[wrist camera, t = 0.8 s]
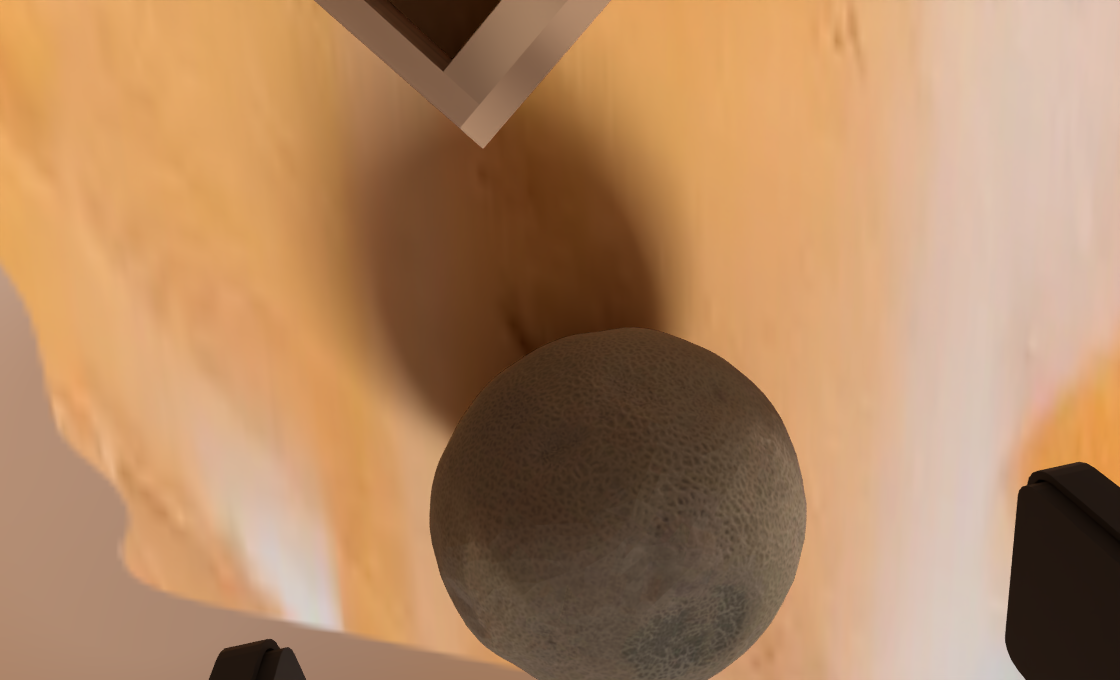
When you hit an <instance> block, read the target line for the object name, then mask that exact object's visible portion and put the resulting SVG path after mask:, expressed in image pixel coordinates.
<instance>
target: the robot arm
mask: <svg viewBox="0 0 1120 680" xmlns="http://www.w3.org/2000/svg"><path fill="white" fill-rule="evenodd" d="M1005 643H1006V647H1007V650H1008V653H1009V656H1010V658H1011V660H1012V662H1013V664H1014V665H1015V666H1016V668H1017V669H1018V671H1019V672H1020V673H1021V674H1022V676H1023V677H1024V678H1025V679H1026V680H1120V487H1119V486H1117V485H1116V484H1115V483H1113V482H1112V481H1111V480H1110V479H1108V478H1107V477H1106V476H1104V475H1103V474H1102V473H1100V472H1099V471H1098V470H1097V469H1095V468H1094V467H1092V466H1090V465H1089V464H1087V463H1082V462H1076V463H1072V464H1067V465H1063V466H1058V467H1054V468H1049V469H1044V470H1040V471H1036V472H1033V473H1032V474H1031V476H1030V477H1029V480H1028V484H1027V486H1023V487H1022V488H1021V489H1020V490H1019V493H1018V500H1017V511H1016V522H1015V533H1014V544H1013V555H1012V566H1011V577H1010V588H1009V599H1008V610H1007V621H1006V632H1005ZM209 680H306V678H305V676H304V674H303V672H302V669H301V667H300V665H299V663H298V661H297V659H296V656H295V654H294V653H293V651H292V649H290V648H289V647H287V648H282V649H280V648H279V647H278V645H277V643H276V642H275V641H274V640H272V639H266V640H261V641H257V642H252V643H248V644H243V645H239V646H235V647H229V648H225V649H224V650H222V651H221V652H220V654H219V656H218V658H217V660H216V662H215V665H214V667H213V670H212V673H211V675H210V678H209Z"/></svg>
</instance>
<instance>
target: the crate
mask: <svg viewBox="0 0 1120 680" xmlns="http://www.w3.org/2000/svg"><path fill="white" fill-rule="evenodd" d="M314 1H315V2H317V3H318V4H319V5H320V6H321V7H322V8H323V9H325V10H326V11H327V12H328V13H329V14H330V15H331V16H332V17H334V18H335V19H336V20H337V21H338V22H339V23H340V24H342V25H343V26H344V27H345V28H346V29H347V30H348V31H350V32H351V33H352V34H353V35H354V36H355V37H356V38H357V39H359V40H360V41H361V42H362V43H363V44H364V45H365V46H367V47H368V48H369V49H370V50H371V51H372V52H373V53H375V54H376V55H377V56H378V57H379V58H380V59H381V60H382V61H384V62H385V63H386V64H387V65H388V66H389V67H390V68H392V69H393V70H394V71H395V72H396V73H397V74H398V75H400V76H401V77H402V78H403V79H404V80H405V81H406V82H407V83H409V84H410V85H411V86H412V87H413V88H414V89H415V90H417V91H418V92H419V93H420V94H421V95H422V96H423V97H425V98H426V99H427V100H428V101H429V102H430V103H431V104H432V105H434V106H435V107H436V108H437V109H438V110H439V111H440V112H442V113H443V114H444V115H445V116H446V117H447V118H448V119H450V120H451V121H452V122H453V123H454V124H455V125H456V126H457V127H459V128H460V129H461V130H462V131H463V132H464V133H465V134H467V135H468V136H469V137H470V138H471V139H472V140H473V141H475V142H476V143H477V144H478V145H479V146H480V147H481V148H482V149H483V148H484V147H485V146H486V145H487V144H488V143H489V141H490V140H491V139H492V138H493V137H494V136H495V134H496V133H497V132H498V131H499V130H500V129H501V128H502V126H503V125H504V124H505V123H506V122H507V121H508V119H509V118H510V117H511V116H512V115H513V114H514V112H515V111H516V110H517V109H518V108H519V107H520V105H521V104H522V103H523V102H524V101H525V100H526V98H527V97H528V96H529V95H530V94H531V93H532V92H533V90H534V89H535V88H536V87H537V86H538V85H539V83H540V82H541V81H542V80H543V79H544V78H545V76H546V75H547V74H548V73H549V72H550V71H551V69H552V68H553V67H554V66H555V65H556V64H557V62H558V61H559V60H560V59H561V58H562V57H563V55H564V54H565V53H566V52H567V51H568V50H569V49H570V47H571V46H572V45H573V44H574V43H575V42H576V40H577V39H578V38H579V37H580V36H581V35H582V33H583V32H584V31H585V30H586V29H587V28H588V26H589V25H590V24H591V23H592V22H593V21H594V19H595V18H596V17H597V16H598V15H599V14H600V13H601V11H602V10H603V9H604V8H605V7H606V6H607V4H608V3H609V2H610V1H611V0H500V2H499V3H498V4H497V5H496V6H495V8H494V9H493V10H492V11H491V13H490V14H489V15H488V16H487V17H486V19H485V20H484V21H483V22H482V24H481V25H480V26H479V27H478V28H477V30H476V31H475V32H474V33H473V35H472V36H471V37H470V38H469V39H468V41H467V42H466V43H465V44H464V46H463V47H462V48H461V49H460V50H459V52H458V53H457V54H456V55H455V57H454V58H453V59H451V58H450V57H449V56H448V55H447V54H446V53H444V52H443V51H442V50H441V49H440V48H439V47H438V46H437V45H436V44H435V43H434V42H432V41H431V40H430V39H429V38H428V37H427V36H426V35H425V34H424V33H423V32H422V31H420V30H419V29H418V28H417V27H416V26H415V25H414V24H413V23H412V22H411V21H410V20H408V19H407V18H406V17H405V16H404V15H403V14H402V13H401V12H400V11H399V10H398V9H396V8H395V7H394V6H393V5H392V4H391V3H390V2H389V1H388V0H314Z"/></svg>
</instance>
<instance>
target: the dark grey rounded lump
mask: <svg viewBox="0 0 1120 680" xmlns="http://www.w3.org/2000/svg"><path fill="white" fill-rule="evenodd" d="M805 529H806V498H805V493H804V486H803V479H802V475H801V471H800V467H799V463H798V459H797V455H796V453H795V450H794V447H793V445H792V442H791V440H790V437H789V435H788V433H787V430H786V428H785V426H784V424H783V421H782V419H781V417H780V416H779V414H778V413H777V411H776V410H775V408H774V406H773V405H772V404H771V402H770V401H769V400H768V398H767V397H766V396H765V395H764V393H763V392H762V391H761V390H760V389H759V388H758V387H757V386H756V385H755V384H754V383H753V382H752V381H750V380H749V379H748V378H747V377H746V376H745V375H743V374H742V373H741V372H740V371H739V370H737V369H736V368H735V367H734V366H732V365H731V364H730V363H729V362H727V361H726V360H724V359H723V358H721V357H720V356H718V355H716V354H715V353H713V352H711V351H709V350H707V349H705V348H703V347H700V346H698V345H695V344H693V343H691V342H688V341H686V340H683V339H681V338H678V337H675V336H672V335H669V334H667V333H664V332H660V331H657V330H652V329H646V328H638V327H624V328H618V329H611V330H606V331H599V332H591V333H584V334H576V335H572V336H567V337H564V338H561V339H558V340H556V341H553V342H551V343H548V344H546V345H544V346H542V347H540V348H538V349H536V350H535V351H533V352H531V353H529V354H528V355H526V356H525V357H523V358H522V359H520V360H519V361H517V362H516V363H514V364H513V365H511V366H509V367H508V368H506V369H505V370H504V371H502V372H501V373H499V374H498V375H497V376H496V377H495V378H494V379H493V380H491V381H490V382H489V383H488V384H487V385H486V386H485V387H484V389H483V390H482V391H481V392H480V393H479V395H478V396H477V397H476V398H475V400H474V401H473V403H472V404H471V405H470V407H469V408H468V410H467V411H466V413H465V414H464V415H463V417H462V418H461V420H460V422H459V423H458V425H457V427H456V429H455V431H454V433H453V435H452V437H451V439H450V441H449V443H448V445H447V447H446V449H445V451H444V452H443V454H442V456H441V458H440V461H439V463H438V466H437V469H436V472H435V476H434V480H433V485H432V491H431V501H430V533H431V540H432V545H433V549H434V553H435V556H436V560H437V564H438V568H439V571H440V575H441V578H442V580H443V582H444V585H445V587H446V589H447V592H448V594H449V596H450V597H451V599H452V601H453V603H454V605H455V607H456V609H457V611H458V613H459V614H460V616H461V617H462V619H463V621H464V622H465V624H466V625H467V627H468V628H469V629H470V630H471V632H472V633H473V634H474V635H475V636H476V638H477V639H478V640H479V641H480V642H481V643H482V644H483V645H484V646H486V647H487V648H488V649H490V650H491V651H492V652H494V653H495V654H497V655H498V656H500V657H502V658H503V659H505V660H507V661H509V662H511V663H513V664H514V665H516V666H518V667H519V668H521V669H522V670H524V671H525V672H527V673H528V674H530V675H531V676H533V677H534V678H536V679H538V680H708V679H709V678H711V677H713V676H714V675H716V674H717V673H719V672H721V671H722V670H723V669H725V668H726V667H727V666H729V665H730V664H731V663H733V662H734V661H735V660H737V659H738V658H739V657H740V656H741V655H743V654H744V653H745V652H746V651H747V650H748V649H749V648H750V647H751V646H752V645H753V644H754V643H755V642H756V641H757V640H758V638H759V637H760V636H761V635H762V634H763V633H764V631H765V630H766V629H767V627H768V626H769V625H770V624H771V622H772V621H773V619H774V617H775V615H776V614H777V612H778V610H779V608H780V607H781V605H782V603H783V601H784V599H785V597H786V595H787V593H788V591H789V589H790V587H791V585H792V583H793V581H794V578H795V575H796V571H797V567H798V563H799V560H800V556H801V551H802V547H803V543H804V539H805Z"/></svg>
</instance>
